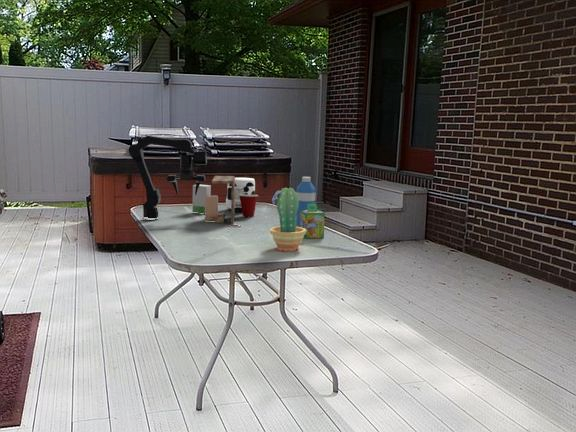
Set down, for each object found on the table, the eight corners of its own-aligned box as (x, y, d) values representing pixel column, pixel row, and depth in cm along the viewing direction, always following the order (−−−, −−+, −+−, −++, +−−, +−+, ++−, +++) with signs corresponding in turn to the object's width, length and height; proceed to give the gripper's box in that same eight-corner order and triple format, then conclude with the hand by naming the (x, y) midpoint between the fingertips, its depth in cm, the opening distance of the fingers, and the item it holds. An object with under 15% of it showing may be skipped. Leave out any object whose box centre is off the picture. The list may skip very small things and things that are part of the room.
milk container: (246, 207, 347) (246, 176, 344) (261, 211, 333) (262, 179, 330) (220, 209, 337) (220, 178, 334) (235, 213, 323) (235, 181, 320)
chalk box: (305, 238, 261) (305, 206, 258) (299, 234, 270) (299, 202, 267) (324, 238, 263) (325, 205, 261) (318, 234, 272) (319, 202, 270)
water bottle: (313, 230, 280) (314, 178, 275) (293, 229, 281) (295, 177, 277) (316, 227, 289) (317, 176, 284) (297, 226, 290) (298, 175, 286)
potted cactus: (285, 242, 252) (286, 184, 248) (313, 248, 243) (315, 188, 238) (261, 248, 240) (261, 187, 236) (290, 254, 231) (291, 191, 227)
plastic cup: (259, 215, 320) (260, 193, 318) (256, 218, 310) (257, 195, 308) (240, 214, 321) (240, 192, 319) (236, 217, 311) (236, 195, 309)
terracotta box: (205, 221, 299) (205, 196, 297) (206, 219, 304) (206, 195, 302) (217, 221, 299) (217, 197, 297) (217, 219, 305) (217, 195, 302)
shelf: (203, 224, 290) (203, 180, 286) (207, 216, 313) (207, 175, 310) (233, 224, 291) (233, 181, 287) (234, 216, 314) (234, 176, 311)
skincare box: (192, 213, 321) (191, 185, 318) (197, 211, 327) (197, 184, 324) (206, 214, 318) (205, 186, 316) (211, 212, 324) (211, 184, 322)
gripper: (165, 165, 287) (165, 197, 290) (203, 166, 288) (203, 197, 291) (168, 163, 298) (168, 194, 300) (205, 164, 299) (205, 194, 302)
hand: (186, 195), depth 298 cm, fingers open, 9 cm apart
